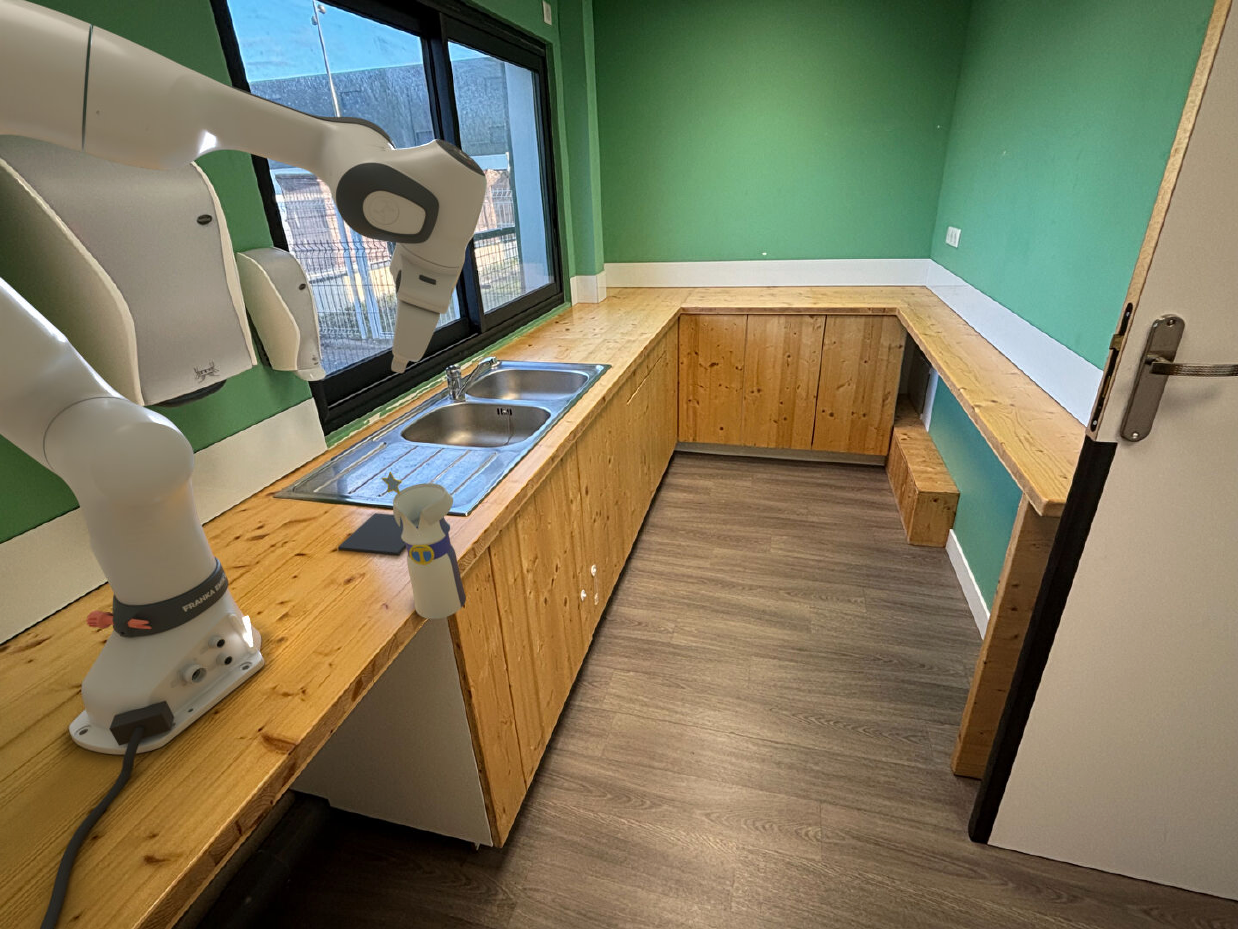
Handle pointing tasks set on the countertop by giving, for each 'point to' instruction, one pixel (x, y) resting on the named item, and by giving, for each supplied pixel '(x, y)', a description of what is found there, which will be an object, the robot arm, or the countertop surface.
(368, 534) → the mat
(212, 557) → the robot arm
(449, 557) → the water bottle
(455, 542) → the countertop surface
